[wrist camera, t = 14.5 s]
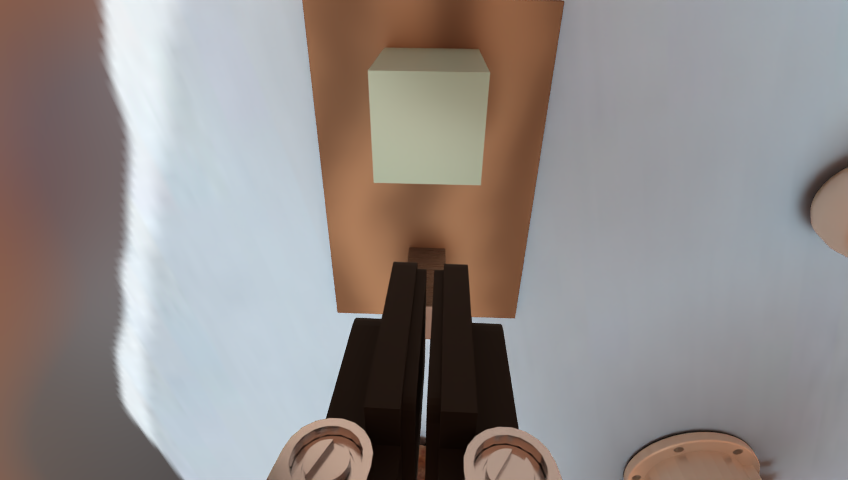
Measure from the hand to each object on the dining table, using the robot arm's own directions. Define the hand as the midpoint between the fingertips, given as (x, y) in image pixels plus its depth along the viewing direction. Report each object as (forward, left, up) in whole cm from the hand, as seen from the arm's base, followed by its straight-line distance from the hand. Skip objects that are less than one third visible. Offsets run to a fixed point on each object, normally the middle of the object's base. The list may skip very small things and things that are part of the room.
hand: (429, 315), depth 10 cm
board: (0, +6, -20) cm, 21 cm away
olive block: (0, -1, -19) cm, 19 cm away
